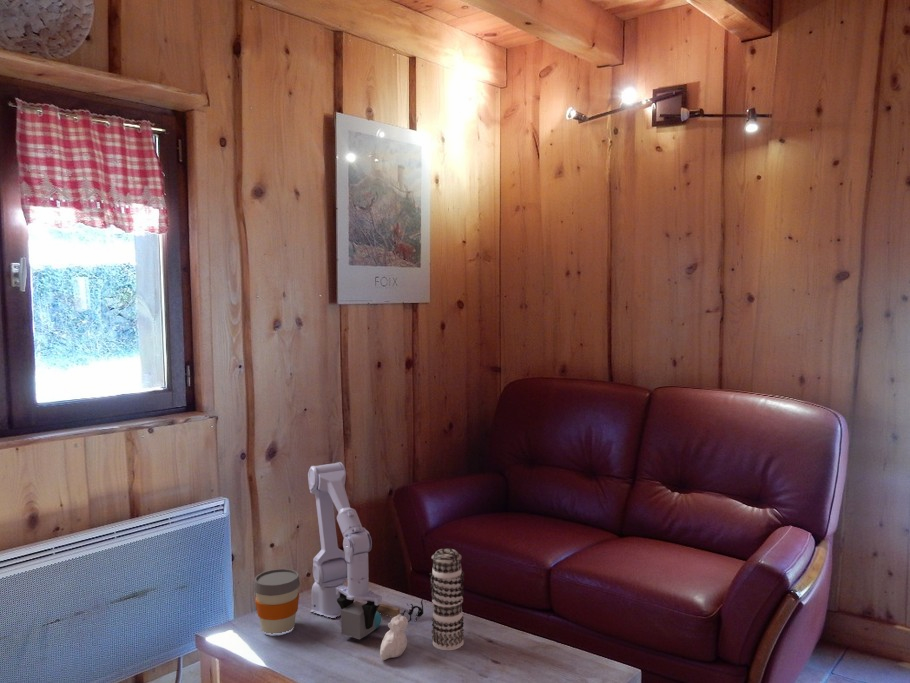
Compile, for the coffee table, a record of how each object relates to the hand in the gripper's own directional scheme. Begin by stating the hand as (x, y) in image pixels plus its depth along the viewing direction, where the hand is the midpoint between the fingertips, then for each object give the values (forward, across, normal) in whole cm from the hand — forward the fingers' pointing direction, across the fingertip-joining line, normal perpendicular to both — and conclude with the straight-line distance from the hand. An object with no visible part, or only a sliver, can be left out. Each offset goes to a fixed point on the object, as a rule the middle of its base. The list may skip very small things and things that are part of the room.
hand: (359, 624), depth 193 cm
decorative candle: (+4, +23, +9) cm, 25 cm away
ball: (+1, 0, +6) cm, 6 cm away
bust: (+4, +14, -3) cm, 15 cm away
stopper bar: (+3, -2, +15) cm, 15 cm away
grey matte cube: (+2, 0, 0) cm, 2 cm away
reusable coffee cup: (+4, -23, -8) cm, 25 cm away
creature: (+4, +6, +16) cm, 18 cm away
